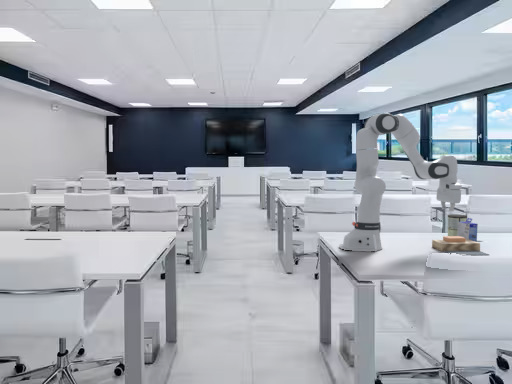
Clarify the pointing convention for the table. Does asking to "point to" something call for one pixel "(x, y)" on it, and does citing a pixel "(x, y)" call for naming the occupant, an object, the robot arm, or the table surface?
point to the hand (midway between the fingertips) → (447, 210)
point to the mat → (468, 252)
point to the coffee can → (455, 223)
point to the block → (454, 239)
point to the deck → (455, 245)
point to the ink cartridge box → (468, 230)
